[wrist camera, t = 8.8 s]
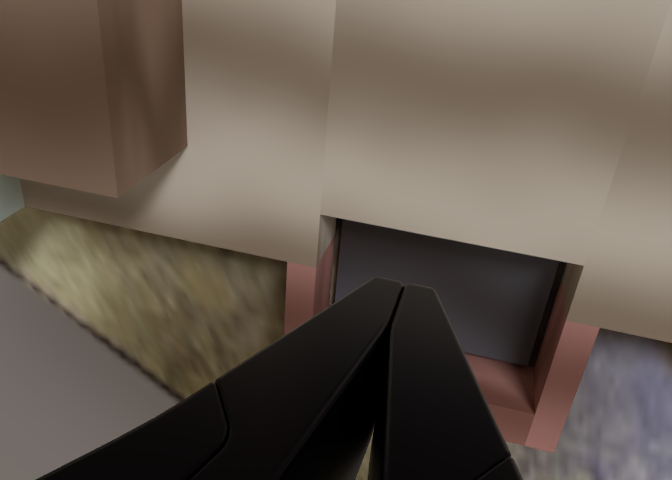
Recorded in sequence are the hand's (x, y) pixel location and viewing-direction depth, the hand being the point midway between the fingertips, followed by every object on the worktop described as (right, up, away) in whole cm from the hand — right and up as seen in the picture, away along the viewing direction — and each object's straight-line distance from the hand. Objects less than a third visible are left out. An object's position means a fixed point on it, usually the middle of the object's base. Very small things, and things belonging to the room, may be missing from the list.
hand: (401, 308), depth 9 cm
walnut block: (-8, +7, +10) cm, 14 cm away
